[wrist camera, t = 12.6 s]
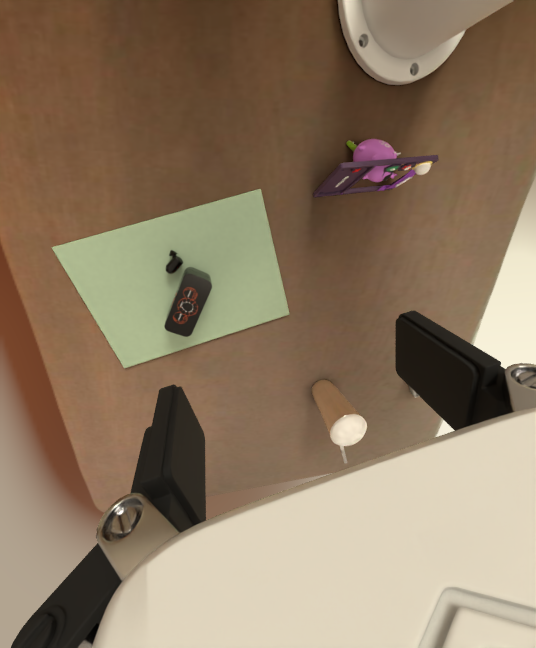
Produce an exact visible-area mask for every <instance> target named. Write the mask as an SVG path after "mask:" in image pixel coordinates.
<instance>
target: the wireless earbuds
mask: <svg viewBox="0 0 536 648" xmlns="http://www.w3.org/2000/svg"><path fill="white" fill-rule="evenodd" d="M177 254H178V253H176V252H175V251H173V250H171V251H170V253H169V256H172V259H171V260H170V261H169V262H168V264H167V265H166V272H167V273H169V274H173V273H175V272H176V271H177V270H178V269H179V268H180V267H181V265H182V264H183V260H182V259H181V258H180V257H178V256H176V255H177ZM211 289H212V282H211V277H210V275H209V274H207V273H205V272H203V271H200V270H198V269H196V268H193V267H188V268H186V269H185V271H184V273H183V276H182V278H181V281H180V283H179V286H178V288H177V291H176V293H175V296H174V298H173V301H172V303H171V306H170V308H169V311H168V313H167V317H166V321H165V325H164V327H165V329H166V330H167V331H169V332H171V333H175V334H178V335H181V336H184V337H188V336H190V335H191V334H192V333H193V330H194V328H195V326H196V323H197V321H198V319H199V317H200V314H201V312H202V310H203V307H204V305H205V303H206V301H207V298H208V296H209V294H210V291H211Z"/></svg>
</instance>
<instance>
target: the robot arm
mask: <svg viewBox="0 0 536 648" xmlns="http://www.w3.org/2000/svg"><path fill="white" fill-rule="evenodd" d="M512 1H514V0H338V8H339V17H340V21H341V26H342V30H343V34H344V37H345V39H346V42H347V45H348V47H349V50H350V51H351V53H352V55H353V56H354V58H355V60H356V61H357V63H358V64H359V65H360V66H361V67H362V69H363V70H364V71H365V72H366V73H367V74H369V75H370V76H371V77H373V78H374V79H376V80H377V81H380V82H383V83H386V84H389V85H403V84H409V83H412V82H414V81H416V80H419V79H421V78H423V77H425V76H426V75H428V74H430V73H431V72H433V71H434V70H436V69H437V68H438V67H439V66H440V65H441V64H442V63H443V62H445V60H446V59H447V58H448V57H449V56H450V54H451V53H452V52H453V51H454V49H455V48H456V46H457V44H458V43H459V41H460V40H461V38H462V36H463V35H464V32H465V30H466V29H468V28H469V27H471V26H472V25H474V24H476V23H477V22H479V21H481V20H482V19H484V18H486V17H487V16H489V15H491V14H492V13H494V12H496V11H497V10H499V9H500V8H502V7H504V6H505V5H507V4H509V3H510V2H512ZM359 43H360V45H361V46H360V45H359ZM500 365H501V362H500V361H498V360H497V359H495V358H493V357H492V356H490V355H488V354H487V353H485V352H483V351H482V350H480V349H478V348H476V347H475V346H473V345H472V344H470V343H468V342H466V341H465V340H463V339H461V338H460V337H458V336H456V335H455V334H453V333H451V332H450V331H448V330H446V329H445V328H443V327H441V326H440V325H438V324H436V323H435V322H433V321H431V320H430V319H428V318H426V317H425V316H423V315H421V314H420V313H418V312H416V311H410V312H407V313H403V314H401V315H399V318H398V319H397V320H396V371H397V374H398V375H399V376H400V377H401V378H402V379H403V380H404V381H405V382H406V383H407V384H408V385H409V386H410V387H411V388H412V389H413V390H414V391H415V392H416V393H417V394H418V395H419V396H420V397H421V398H422V399H423V400H424V401H425V402H426V403H427V404H428V405H429V406H430V407H431V408H432V409H433V410H434V411H435V412H436V413H437V414H438V415H439V416H441V417H442V418H443V419H444V420H445V421H446V422H447V423H448V424H449V425H450V426H451V427H452V428H453V429H454V430H455V431H453V432H450V433H447V434H445V435H442V436H439V437H436V438H433V439H430V440H427V441H424V442H421V443H418V444H415V445H412V446H410V447H407V448H404V449H401V450H398V451H395V452H392V453H389V454H387V455H384V456H381V457H378V458H375V459H372V460H369V461H367V462H364V463H361V464H358V465H355V466H352V467H350V468H347V469H344V470H341V471H338V472H335V473H333V474H330V475H327V476H324V477H321V478H319V479H316V480H313V481H310V482H307V483H305V484H302V485H299V486H296V487H294V488H291V489H288V490H285V491H282V492H279V493H277V494H274V495H271V496H269V497H265V498H263V499H260V500H257V501H255V502H252V503H250V504H247V505H244V506H241V507H239V508H236V509H234V510H231V511H228V512H225V513H223V514H220V515H218V516H215V517H213V518H211V519H208V520H206V500H205V499H206V497H205V437H204V433H203V430H202V428H201V426H200V424H199V422H198V420H197V418H196V416H195V414H194V412H193V410H192V408H191V406H190V403H189V401H188V399H187V397H186V395H185V393H184V391H183V389H182V387H176V385H171V386H168V387H164V388H161V389H160V390H159V394H158V399H157V404H156V408H155V413H154V418H153V423H152V426H151V427H148V428H147V429H146V431H145V433H144V438H143V442H142V446H141V451H140V455H139V459H138V463H137V468H136V472H135V476H134V481H133V485H132V489H131V494H128V495H125V496H124V497H122V498H120V499H118V500H117V501H116V502H115V503H114V504H112V505H111V506H110V508H109V509H108V510H107V511H106V512H105V514H104V515H103V517H102V518H101V520H100V523H99V525H98V528H97V535H96V538H97V541H98V543H97V545H96V546H95V547H94V548H93V549H92V550H91V551H90V552H89V553H88V555H87V556H86V557H85V558H84V559H83V560H82V561H81V562H80V563H79V564H78V566H77V567H76V568H75V569H74V570H73V571H72V572H71V573H70V574H69V576H68V577H67V578H66V579H65V580H64V581H63V582H62V583H61V584H60V585H59V587H58V588H57V589H56V590H55V591H54V592H53V593H52V594H51V595H50V597H49V598H48V599H47V600H46V601H45V602H44V603H43V604H42V605H41V607H40V608H39V609H38V610H37V611H36V612H35V613H34V614H33V615H32V616H31V618H30V619H29V620H28V621H27V623H26V624H25V625H24V626H23V628H22V629H21V630H20V632H19V634H18V635H17V637H16V639H15V640H14V642H13V644H12V646H11V648H536V365H534V364H522V363H520V364H514V365H511V366H509V367H507V369H504V368H503V367H501V366H500Z"/></svg>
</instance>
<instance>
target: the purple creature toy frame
mask: <svg viewBox="0 0 536 648" xmlns="http://www.w3.org/2000/svg"><path fill="white" fill-rule="evenodd" d="M347 146H348V147H349V148H350V149H351V150H352V151H353V152H354V154H353V161H354V162H347V163H341V164H340V165H339V166H338V167H337V168H336V169H335V170H334V171H333V172H332V173H331V174H330V175H329V176H328V178H327V179H326V180H325V181H324V182H323V183H322V184H321V185H320V186H319V187H318V188H317V189H316V190H315V192H314V193H313V196H314V197H322V196H332V195H342V194H352V193H361V192H371V191H381V190H382V191H383V190H390V189H393V188H395V187H397V186H399V185H401V184H402V183H404V182H405V181H407V180H408V179H409V178H410V179H411V178H412V176H414V175H415V174H418V175H423V174H425V173H427V172H428V171H429V169H430V166H431V165H432V164H433V163H435V162H437V161H438V155H431V156H419V157H407V158H396V157H397V155H399V154H401V153H396V152H395V151H394V149H393V148H392V147H391V146H390V145H389V144H388V143H387V142H385V141H382V140H378V139H369V140H365V141H363V142H362V143H360V144H359V145H358V146H356V144H355V145H354V142H353V143H351V141H348V142H347ZM416 163H418V164H417V165H416ZM401 164H404V165H402V166H401ZM410 168H412V169H411V170H410V171H409V172H408V173H407V174H406V175H404V176H402V177H401V178H399V179H398V180H396V181H395V182H393V183H392V184H390V185H383V186H373V187H363V188H353V189H349V188H350V187H352V186H353V185H354V184H355V183H356V182H358V181H359V180H360V179H361V178H362V177H363V179H369V180H371V181H373V182H381V181H386V180H388V179H389V178H390V177H391V178H394V176H397V174H394V173H393V171H394V170H397V169H398V171H404V170H408V169H410Z"/></svg>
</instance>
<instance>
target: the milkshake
mask: <svg viewBox="0 0 536 648" xmlns="http://www.w3.org/2000/svg"><path fill="white" fill-rule="evenodd" d="M311 391H312V394H313V397H314V399H315V402H316V404H317V406H318V408H319V410H320V413H321V415H322V417H323V419H324V422H325V425H326V427H327V430H328V432H329V435H330V437H331V439H332V441H333V442H334V443H335V444H337V445H340V448H341V452H342V456H343V460H344V463H347V459H346V455H345V451H344V447H343V446H348V445H353V444H355V443H357V442H358V441H359V440H361V439H362V437H363V436H364V434H365V432H366V429H367V423H366V421H365V420H364V418H363V417H362V416H361V415H360V414H359V413H358V412H357V411H356V410H355V409H354V407H353V406H352V405H351V404H350V403H349V402H348V401H347V399H346V398H345V397H344V396H343V395H342V394H341V393H340V391H339V390H338V389H337V388H336V387H335V386H334V384H333V383H332V382H330V381H328V380H327V379H325V380H319V381H318V382H317V383H315V384H314V385H313V388H312V390H311Z"/></svg>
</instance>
